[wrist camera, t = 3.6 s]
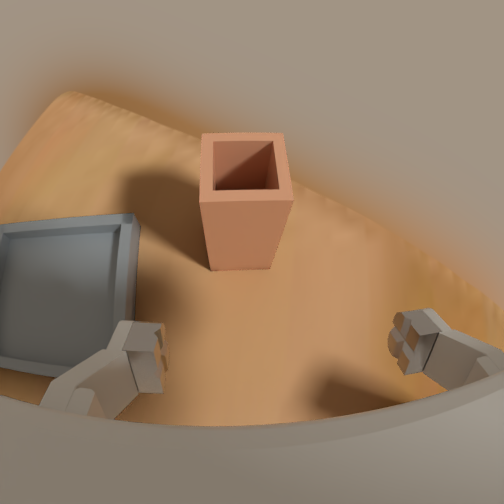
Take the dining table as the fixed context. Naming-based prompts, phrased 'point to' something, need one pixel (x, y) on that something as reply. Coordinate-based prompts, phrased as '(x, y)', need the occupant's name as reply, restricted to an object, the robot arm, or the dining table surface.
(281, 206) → the cup
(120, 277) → the tray
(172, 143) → the dining table surface
